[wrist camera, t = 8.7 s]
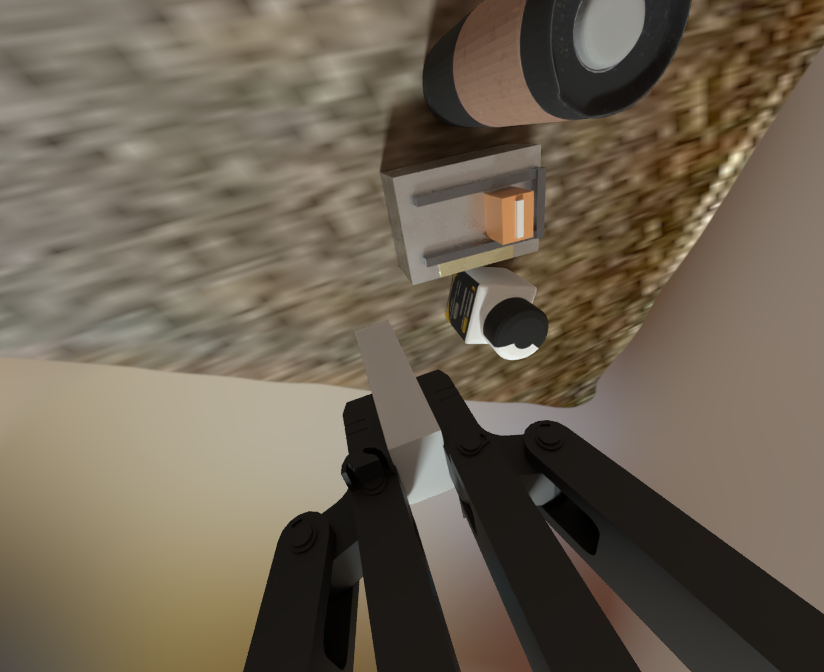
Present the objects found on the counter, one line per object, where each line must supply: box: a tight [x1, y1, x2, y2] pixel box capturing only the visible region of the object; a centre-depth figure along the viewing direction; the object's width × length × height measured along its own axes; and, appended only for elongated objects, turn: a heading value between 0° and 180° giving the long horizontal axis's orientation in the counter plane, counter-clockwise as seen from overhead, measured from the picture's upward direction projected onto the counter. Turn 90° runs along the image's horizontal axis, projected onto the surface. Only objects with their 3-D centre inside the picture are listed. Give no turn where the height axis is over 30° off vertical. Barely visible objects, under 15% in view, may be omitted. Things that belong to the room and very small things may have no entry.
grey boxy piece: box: [380, 144, 546, 285], centre depth 35 cm, size 10×14×7 cm
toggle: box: [484, 186, 534, 245], centre depth 31 cm, size 4×3×4 cm
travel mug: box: [423, 0, 692, 127], centre depth 24 cm, size 8×8×20 cm
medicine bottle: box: [446, 266, 548, 360], centre depth 39 cm, size 7×7×12 cm
